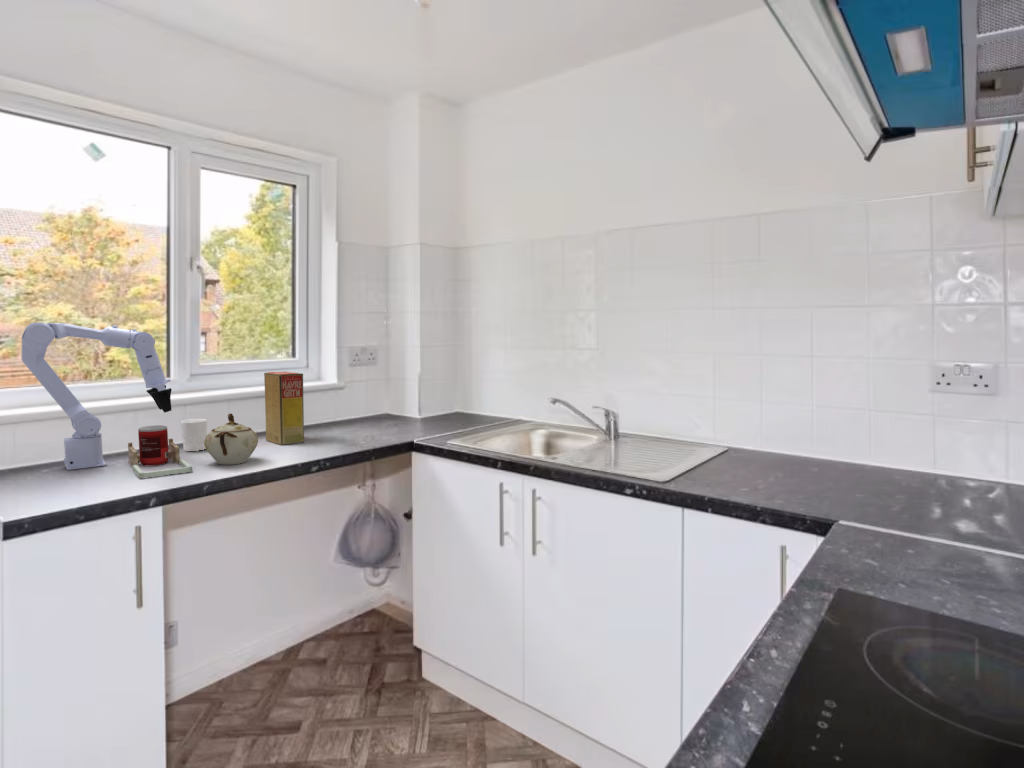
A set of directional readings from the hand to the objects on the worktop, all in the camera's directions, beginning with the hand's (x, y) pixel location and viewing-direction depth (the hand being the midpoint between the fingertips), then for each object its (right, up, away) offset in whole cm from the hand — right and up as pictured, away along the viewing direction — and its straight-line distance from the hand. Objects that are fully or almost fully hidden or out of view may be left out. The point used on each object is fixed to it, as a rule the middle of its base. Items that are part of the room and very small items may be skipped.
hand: (165, 410), depth 195 cm
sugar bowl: (+25, -16, -7) cm, 30 cm away
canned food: (+2, -16, -9) cm, 18 cm away
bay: (+10, -17, -19) cm, 27 cm away
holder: (+2, -16, -9) cm, 18 cm away
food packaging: (+28, -13, +27) cm, 41 cm away
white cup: (+4, -14, +11) cm, 18 cm away
